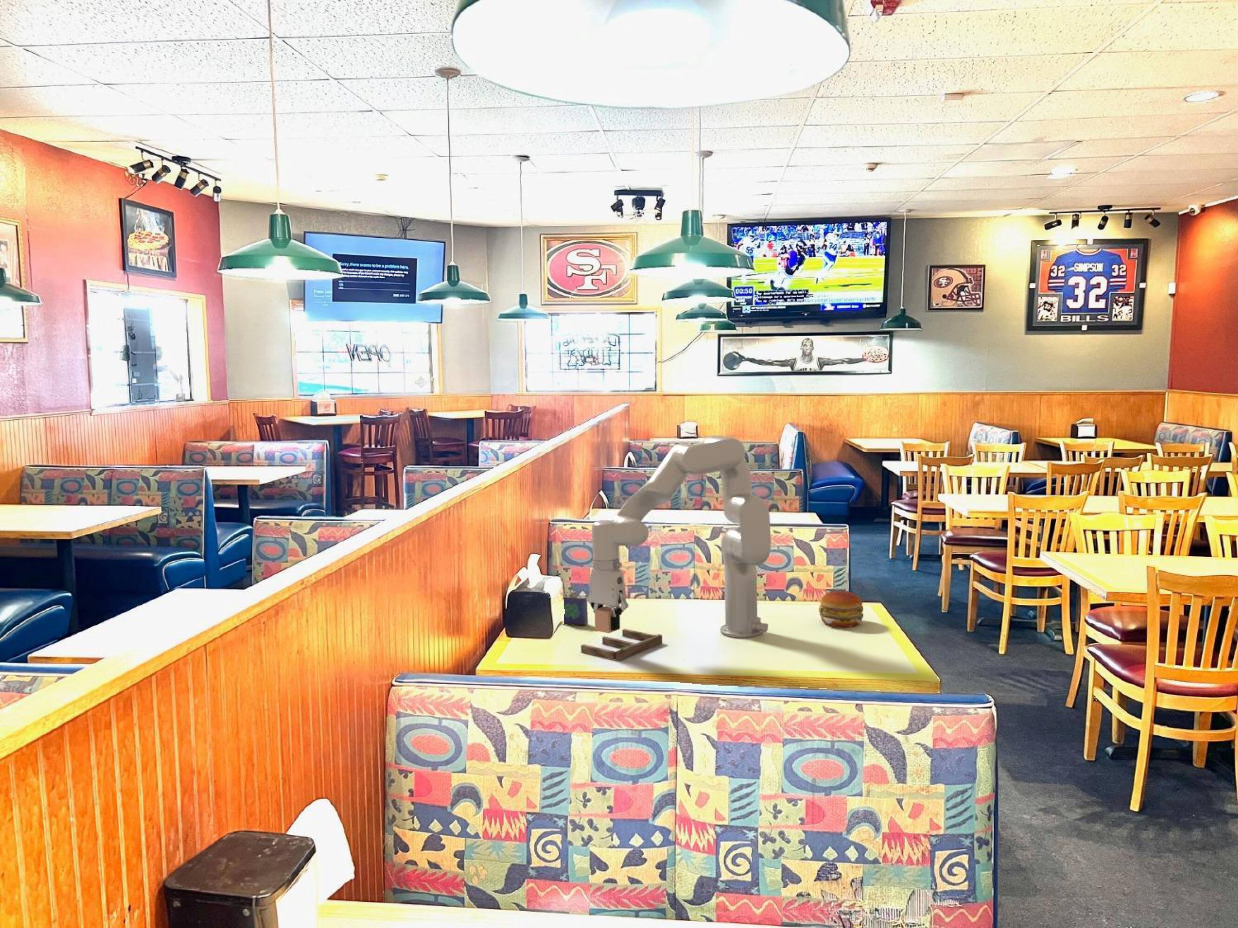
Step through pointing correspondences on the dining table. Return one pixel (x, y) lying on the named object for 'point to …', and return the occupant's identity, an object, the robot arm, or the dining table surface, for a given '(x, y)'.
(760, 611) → the dining table surface
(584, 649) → the comb rack
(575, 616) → the dark blue pouch
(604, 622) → the block
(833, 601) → the burger
